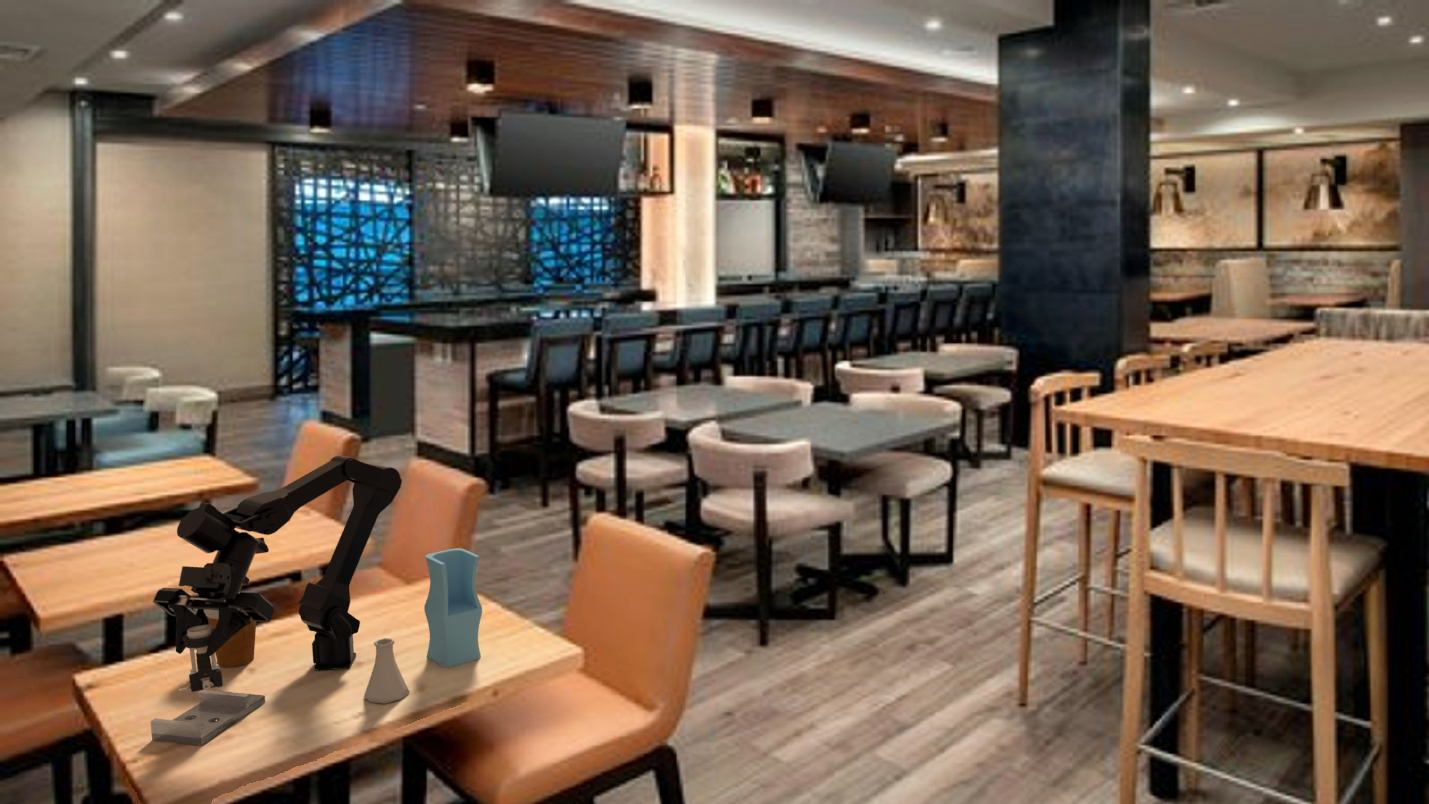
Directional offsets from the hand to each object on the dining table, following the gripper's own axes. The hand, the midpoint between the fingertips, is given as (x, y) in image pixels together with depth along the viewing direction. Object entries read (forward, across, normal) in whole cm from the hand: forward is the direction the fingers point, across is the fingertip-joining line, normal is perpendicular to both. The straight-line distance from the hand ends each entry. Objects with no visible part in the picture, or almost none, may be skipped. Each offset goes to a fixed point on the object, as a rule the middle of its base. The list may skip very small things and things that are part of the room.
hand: (193, 653), depth 167 cm
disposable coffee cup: (-9, -12, +29) cm, 32 cm away
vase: (-15, +28, +35) cm, 47 cm away
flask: (-3, +23, +22) cm, 32 cm away
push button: (+4, 0, +6) cm, 7 cm away
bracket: (+7, -1, +12) cm, 14 cm away
